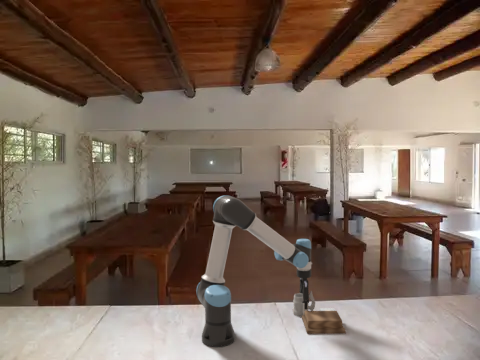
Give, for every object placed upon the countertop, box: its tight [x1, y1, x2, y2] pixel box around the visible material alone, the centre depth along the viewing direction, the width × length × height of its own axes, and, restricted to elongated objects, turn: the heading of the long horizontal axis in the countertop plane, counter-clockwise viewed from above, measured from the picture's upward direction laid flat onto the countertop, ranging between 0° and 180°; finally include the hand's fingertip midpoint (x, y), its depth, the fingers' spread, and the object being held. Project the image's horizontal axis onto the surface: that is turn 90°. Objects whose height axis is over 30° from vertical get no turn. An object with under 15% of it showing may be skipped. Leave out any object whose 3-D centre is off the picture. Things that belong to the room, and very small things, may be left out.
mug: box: [292, 290, 316, 317], centre depth 217 cm, size 8×12×12 cm, turn 93°
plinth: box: [301, 310, 347, 335], centre depth 202 cm, size 18×18×5 cm
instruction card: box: [318, 307, 336, 311], centre depth 219 cm, size 8×11×1 cm
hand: (304, 310), depth 217 cm, fingers open, 10 cm apart
